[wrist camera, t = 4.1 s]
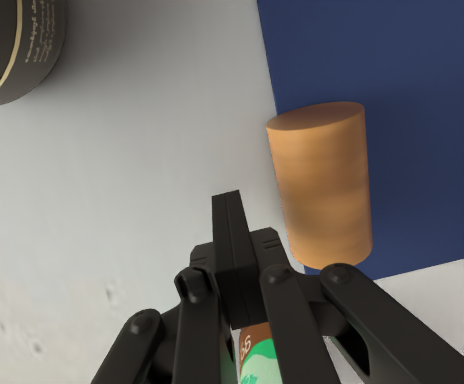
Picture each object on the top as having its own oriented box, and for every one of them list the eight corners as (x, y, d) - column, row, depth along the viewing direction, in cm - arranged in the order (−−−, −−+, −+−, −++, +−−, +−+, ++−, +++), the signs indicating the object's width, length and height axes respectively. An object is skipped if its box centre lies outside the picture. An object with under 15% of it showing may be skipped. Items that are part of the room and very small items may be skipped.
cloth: (247, -52, 15) (249, -59, 14) (537, -131, 15) (559, -144, 14) (308, 292, 24) (313, 302, 23) (490, 249, 23) (501, 257, 23)
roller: (291, 106, 19) (248, 132, 16) (376, 97, 16) (345, 127, 13) (308, 218, 22) (276, 259, 19) (382, 228, 19) (358, 279, 16)
